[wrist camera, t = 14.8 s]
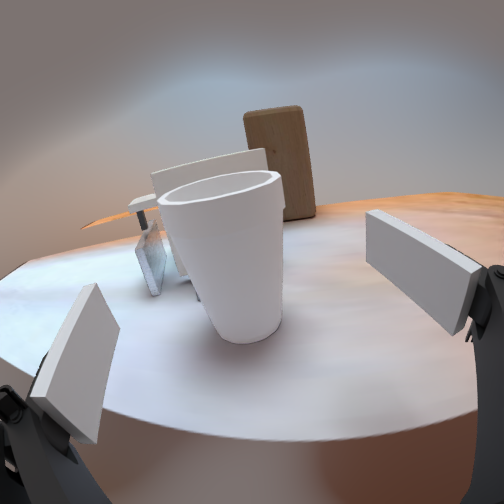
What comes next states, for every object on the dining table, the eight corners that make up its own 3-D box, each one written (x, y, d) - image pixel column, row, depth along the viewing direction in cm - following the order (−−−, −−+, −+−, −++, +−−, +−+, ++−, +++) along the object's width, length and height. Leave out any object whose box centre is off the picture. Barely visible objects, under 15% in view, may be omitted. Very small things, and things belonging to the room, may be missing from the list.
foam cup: (314, 304, 26) (302, 168, 20) (262, 371, 19) (224, 204, 14) (238, 285, 31) (214, 173, 26) (181, 334, 25) (135, 205, 19)
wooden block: (261, 225, 48) (241, 112, 39) (261, 209, 57) (245, 115, 48) (317, 217, 47) (302, 104, 38) (308, 202, 56) (295, 108, 47)
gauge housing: (287, 278, 31) (272, 173, 26) (147, 312, 29) (109, 214, 24) (253, 227, 48) (241, 160, 43) (161, 250, 46) (141, 184, 41)
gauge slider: (280, 251, 34) (264, 148, 29) (150, 283, 32) (117, 184, 27) (269, 236, 39) (254, 147, 34) (155, 265, 37) (128, 177, 32)
